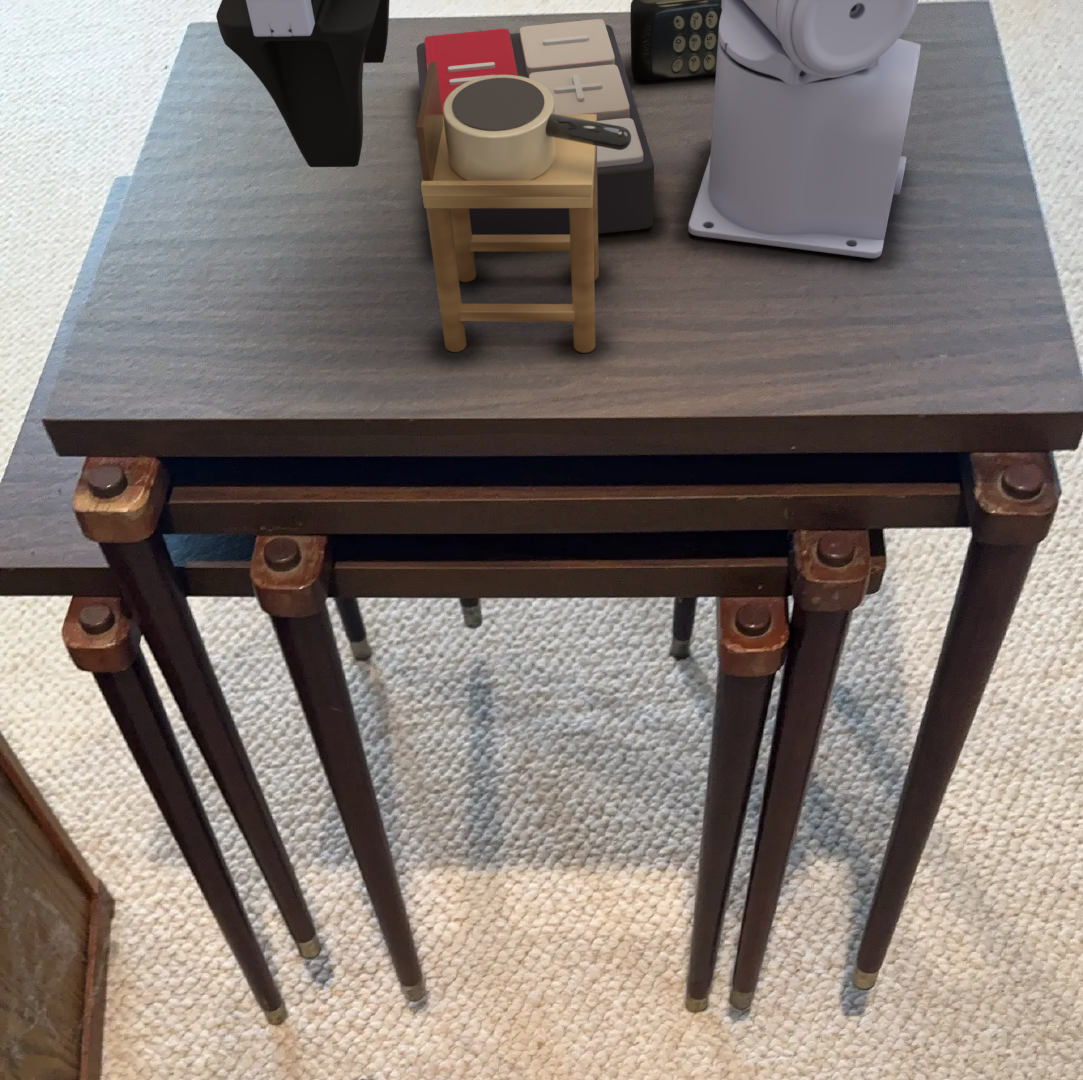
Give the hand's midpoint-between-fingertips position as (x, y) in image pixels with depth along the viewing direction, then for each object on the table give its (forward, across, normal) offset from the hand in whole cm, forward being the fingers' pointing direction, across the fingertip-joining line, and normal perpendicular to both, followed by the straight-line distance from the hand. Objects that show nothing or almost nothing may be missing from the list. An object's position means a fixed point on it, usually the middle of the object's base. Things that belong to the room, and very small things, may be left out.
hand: (348, 108), depth 54 cm
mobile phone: (+11, -21, +19) cm, 30 cm away
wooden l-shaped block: (+2, +1, +7) cm, 7 cm away
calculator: (+11, -12, +6) cm, 17 cm away
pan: (+2, +1, +8) cm, 8 cm away
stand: (+10, +1, +7) cm, 13 cm away
